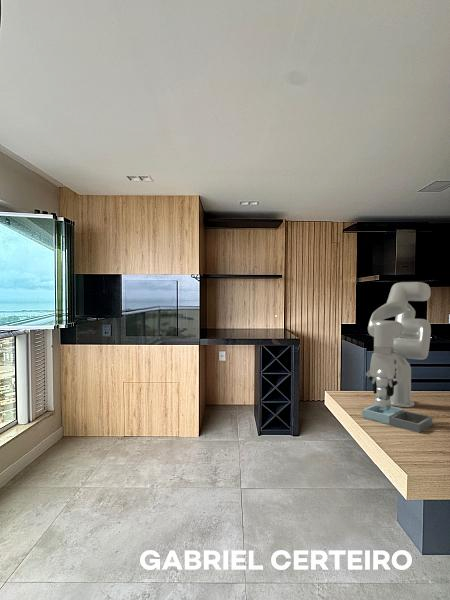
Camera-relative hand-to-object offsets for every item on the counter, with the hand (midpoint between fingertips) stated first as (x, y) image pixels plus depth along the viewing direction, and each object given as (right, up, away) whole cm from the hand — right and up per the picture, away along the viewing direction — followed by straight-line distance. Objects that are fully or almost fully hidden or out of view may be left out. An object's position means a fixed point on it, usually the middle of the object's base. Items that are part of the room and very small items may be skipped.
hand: (383, 394), depth 147 cm
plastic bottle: (0, -7, 0) cm, 7 cm away
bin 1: (0, -10, 0) cm, 10 cm away
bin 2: (+7, -10, -8) cm, 15 cm away
